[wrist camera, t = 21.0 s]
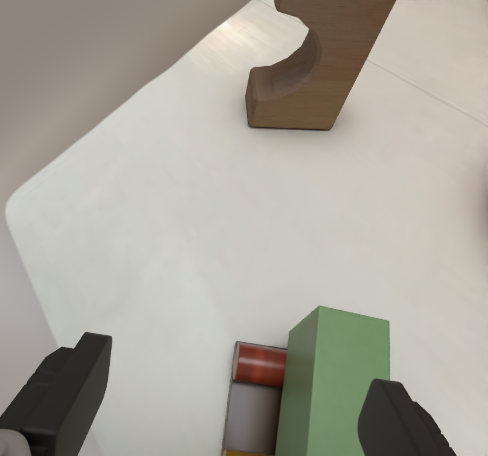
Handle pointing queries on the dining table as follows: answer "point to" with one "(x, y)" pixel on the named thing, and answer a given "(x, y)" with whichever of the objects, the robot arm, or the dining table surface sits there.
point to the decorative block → (316, 64)
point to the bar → (329, 381)
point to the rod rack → (254, 400)
